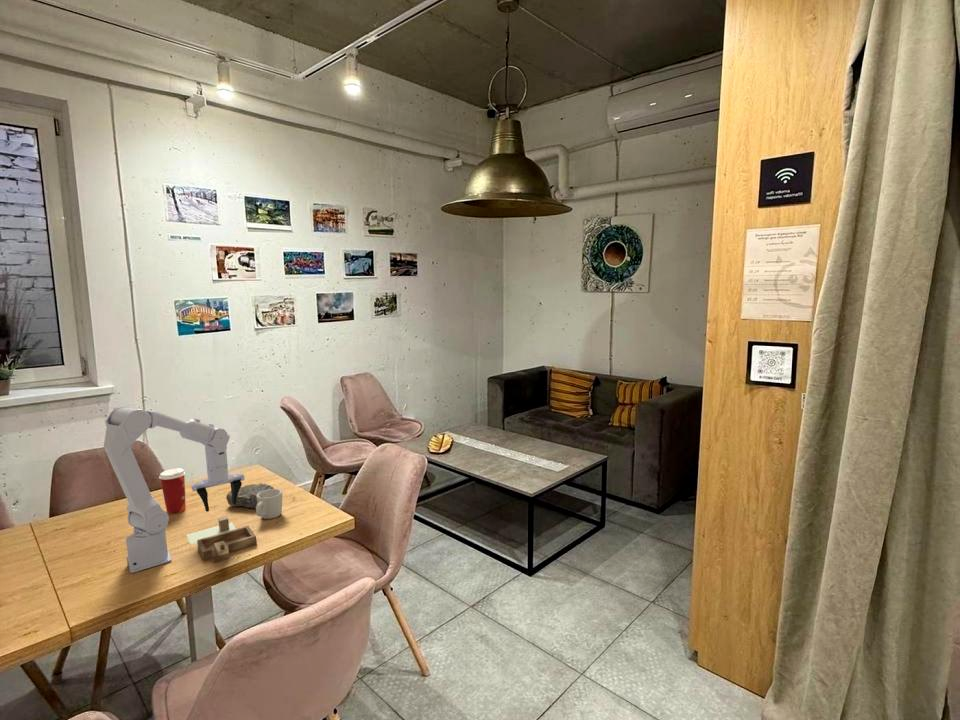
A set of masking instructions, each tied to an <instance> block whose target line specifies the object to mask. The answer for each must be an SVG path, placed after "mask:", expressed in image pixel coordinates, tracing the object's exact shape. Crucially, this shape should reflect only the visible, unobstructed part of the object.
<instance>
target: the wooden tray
mask: <svg viewBox="0 0 960 720" xmlns="http://www.w3.org/2000/svg"><path fill="white" fill-rule="evenodd" d="M220 541H224V542H225V544H226V546H227V547H228V551H229V553H226V554H223V555H220V556H219V555H218V553H217V551H216V549H215V548H214V543H217V542H220ZM196 544H197V549H198V551H199V554H200V556H201V559H202V560H203V561H209V560H212V562H213V564H214V563H218V562H221V561H224V560H227V559H230V558H231V557H230V553H235V552H237V551H240V550H241V551H242V550H244V549H247V548H250V547H253V546H256V545H257V535H256V534H255V533H254V531H253V530H252V529H251V527H250V526H249V525H246V526H242V527H237V528H236V529H235V530H231V531H228V532H224V533H221V534H217V535H214V536H210V537H207V538H203V539H200V540H197V543H196Z"/></svg>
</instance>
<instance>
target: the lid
mask: <svg viewBox="0 0 960 720" xmlns="http://www.w3.org/2000/svg"><path fill="white" fill-rule="evenodd" d="M217 519H218V525H216V526H213V527H209V528H206V529H202V530H199V531H195V532H192V533H188V534H186V535H185V536H186V538H187V540H188V542H189V544H190V545H194V544H197V540H200V539H203V538H207V537H210V536H214V535H217V534H221V533H224V532H228V531H231V530H235V529H237V528H236V526H235V525H234V524H233V522H232V521H231V522H229V518H228V516H227V515H226V516H222V517H218V518H217Z"/></svg>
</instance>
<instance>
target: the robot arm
mask: <svg viewBox="0 0 960 720" xmlns="http://www.w3.org/2000/svg"><path fill="white" fill-rule="evenodd" d="M104 424H105V429H106V430H105V435H104V442H103V449H104V451H105V452H104V453H106V456H107V458H108V461H109V462H110V464H111V467H112V469H113V471H114V474H115V476H116V479H117V480H118V482H119V484H120V487H121V489H122V491H123V493H124V495H125V497H126V500H127V502H128V505H127V506H126V510H127V514H128V515H127V522H128V523H127V524H128V525H130V526H131V527H132V528H133V534H131V535H127V536H125V545H126V553H127V554H126V555H127V556H126V564H128V566H129V567H128V568H129V572H130V574H133V573H136V572H139V571H143V570H145V569H146V570H147V569H149V568H153V567H156V566H159V565H162V564H163V565H164V564H166V563H169V562H172V557H171V555H170V554H171V553H170V551H169V549H168V544H167V533H166V527H167V526H168V524H169V519H170V515H169V514H168V513H167V510H166V511H165V510H164V509H163V508H162V506H161V504H159V502H158V501H157V500H156V499H155V498H154V497H153V496H152V494H151V491H150V489H149V487H148V483H146V480H145V477H144V475H143V473H142V470H141V468H140V466H139V464H138V462H137V459H136V457H135V454H134V452H133V450H132V446H133V445H134V443H135V442H136V440H138V439H139V438H140V437H141V436H142V435H143V434H144V433H145V432H147V430H148V429H154V428H156V427H160V428H162V429H163V428H164V429H166V430H171V431H175V432H178V433H179V435H180V436H181V438H182V439H186V440H189V441H193V442H196V443H200V444H201V445H203V446H204V449H205V450H204V451H205V460H206V473H207V474H206V475H207V479H204V480H201V481H198V482H194V483H193V482H192V483H191V491H192V492H197V495H198V496H199V497H200V499H201V501H202V503H203V506H204V509H205V512H206V513H207V512H209V511H210V506H209V498H208V491H207V489H208V488H212V487H217V486H222V485H226V484H230V489H231V490H230V491H231V492H232V503H233V505H236V500H237V495H238V492H239V490H240V488H241V487H242V481H245V474H244V473H243V472H242V473H241V472H240V473H232V474H229V468H228V467H229V466H228V454H227V453H228V452H227V449H228V447H227V445H228V443H229V440H230V437H231V436H230V435H229V434H228V431H226V430H225V429H224V428H220V427H215V425H214V424H212V423H209V424H207V423H205V422H201V419H199V418H193V419H190V418H189V419H186V420H185V421H183V420H180V419H178V418H175V417H173V416H169V415H167V414H164V413H160V412H157V411H152V410H145V409H142V408H141V409H140V408H130V407H128V406H118V407H117V408H114V409H113V410H112V411H111V412H110V413H109V415H108V416H107V417H106V419H105V420H104Z"/></svg>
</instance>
